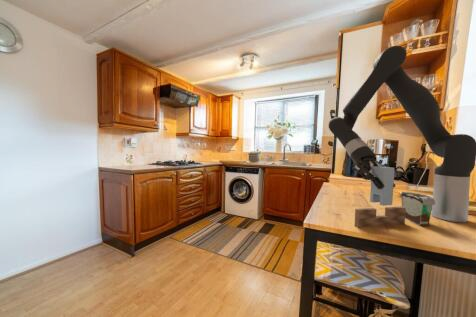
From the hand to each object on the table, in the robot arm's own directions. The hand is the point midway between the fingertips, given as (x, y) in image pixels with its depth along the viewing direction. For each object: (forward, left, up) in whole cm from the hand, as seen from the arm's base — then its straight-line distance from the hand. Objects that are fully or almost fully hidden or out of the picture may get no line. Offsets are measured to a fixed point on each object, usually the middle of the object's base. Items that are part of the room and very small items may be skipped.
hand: (387, 187), depth 63 cm
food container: (-18, -2, -14) cm, 23 cm away
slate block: (0, -2, -6) cm, 6 cm away
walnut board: (0, -2, -14) cm, 14 cm away
